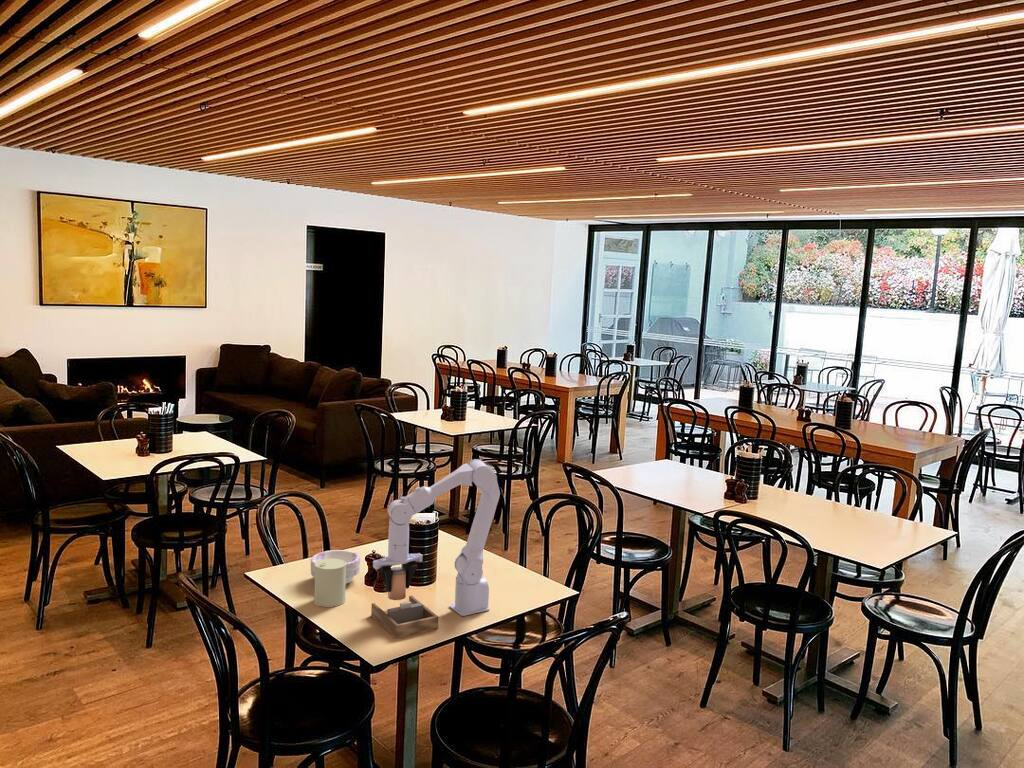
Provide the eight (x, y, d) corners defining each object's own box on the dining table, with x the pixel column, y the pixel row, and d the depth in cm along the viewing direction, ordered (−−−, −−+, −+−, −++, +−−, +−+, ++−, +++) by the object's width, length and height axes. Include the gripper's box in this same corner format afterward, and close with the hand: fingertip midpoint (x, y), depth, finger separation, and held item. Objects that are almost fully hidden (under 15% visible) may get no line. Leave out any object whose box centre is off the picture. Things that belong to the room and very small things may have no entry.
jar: (401, 592, 234) (401, 565, 233) (408, 598, 229) (408, 571, 228) (385, 595, 231) (385, 568, 230) (392, 601, 227) (392, 573, 226)
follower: (419, 615, 230) (420, 598, 229) (423, 618, 228) (423, 600, 227) (386, 622, 224) (387, 605, 223) (390, 625, 222) (390, 607, 222)
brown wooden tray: (411, 606, 237) (411, 595, 237) (438, 628, 223) (438, 616, 223) (371, 615, 230) (371, 603, 230) (396, 638, 216) (396, 625, 216)
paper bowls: (311, 573, 260) (311, 549, 259) (359, 571, 263) (360, 548, 262) (309, 591, 245) (309, 566, 244) (359, 589, 248) (360, 564, 247)
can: (307, 600, 239) (308, 561, 237) (334, 592, 245) (335, 554, 244) (324, 609, 232) (325, 569, 231) (351, 601, 239) (352, 562, 237)
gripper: (415, 535, 235) (414, 580, 237) (368, 542, 227) (367, 588, 229) (426, 542, 229) (425, 588, 231) (379, 550, 221) (378, 597, 223)
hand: (397, 589), depth 230 cm, fingers closed on jar, 5 cm apart
